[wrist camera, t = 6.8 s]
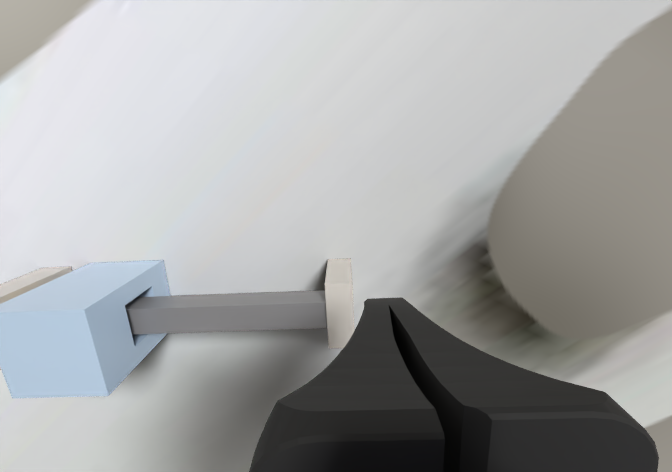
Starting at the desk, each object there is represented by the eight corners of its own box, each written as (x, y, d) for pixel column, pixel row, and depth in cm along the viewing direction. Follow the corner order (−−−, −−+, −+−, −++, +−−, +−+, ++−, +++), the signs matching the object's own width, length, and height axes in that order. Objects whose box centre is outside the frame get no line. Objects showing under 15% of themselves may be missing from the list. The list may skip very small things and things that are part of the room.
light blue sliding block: (163, 260, 21) (84, 309, 15) (176, 324, 23) (108, 395, 16) (90, 262, 22) (-20, 313, 15) (107, 326, 23) (12, 398, 16)
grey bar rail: (350, 255, 21) (352, 286, 16) (352, 315, 22) (355, 360, 18) (40, 267, 22) (-44, 301, 17) (58, 325, 23) (-16, 371, 18)
